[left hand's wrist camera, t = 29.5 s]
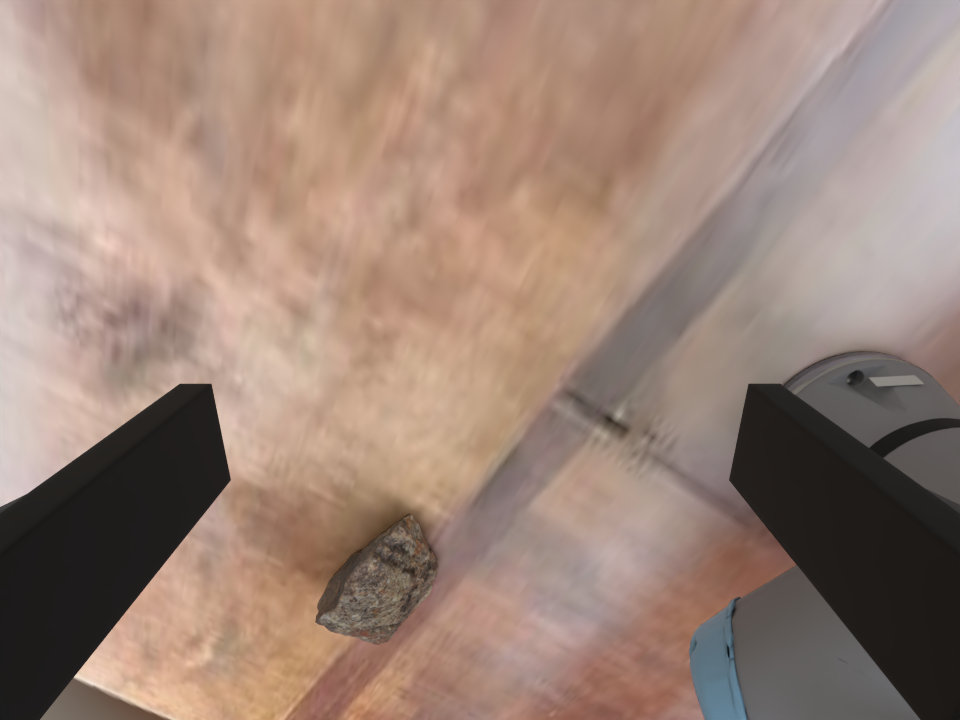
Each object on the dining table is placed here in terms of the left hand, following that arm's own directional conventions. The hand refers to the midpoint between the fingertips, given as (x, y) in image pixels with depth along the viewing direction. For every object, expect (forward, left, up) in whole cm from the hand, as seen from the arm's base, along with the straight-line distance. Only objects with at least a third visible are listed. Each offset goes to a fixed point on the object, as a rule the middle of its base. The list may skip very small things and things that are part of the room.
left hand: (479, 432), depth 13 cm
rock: (-5, +31, -29) cm, 43 cm away
